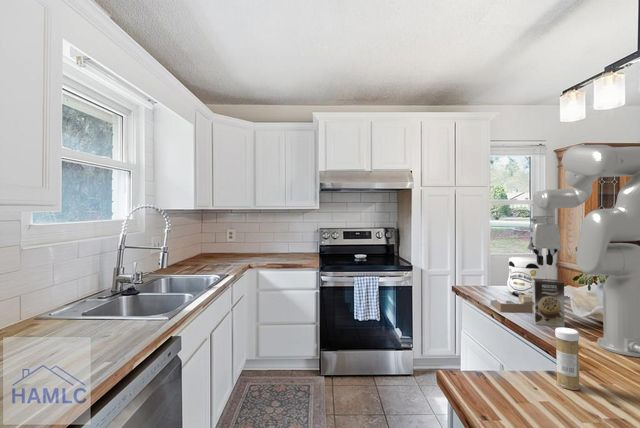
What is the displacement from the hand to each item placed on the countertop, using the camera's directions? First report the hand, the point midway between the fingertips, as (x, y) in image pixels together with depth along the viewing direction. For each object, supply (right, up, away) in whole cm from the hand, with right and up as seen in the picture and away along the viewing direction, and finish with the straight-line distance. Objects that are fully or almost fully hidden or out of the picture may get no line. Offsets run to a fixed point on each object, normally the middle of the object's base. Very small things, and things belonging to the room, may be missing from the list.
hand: (544, 264), depth 138 cm
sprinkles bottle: (-34, -20, -58) cm, 71 cm away
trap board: (-11, -19, +3) cm, 22 cm away
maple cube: (-7, -17, +1) cm, 19 cm away
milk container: (+8, -19, +25) cm, 32 cm away
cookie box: (-9, -20, -15) cm, 27 cm away
